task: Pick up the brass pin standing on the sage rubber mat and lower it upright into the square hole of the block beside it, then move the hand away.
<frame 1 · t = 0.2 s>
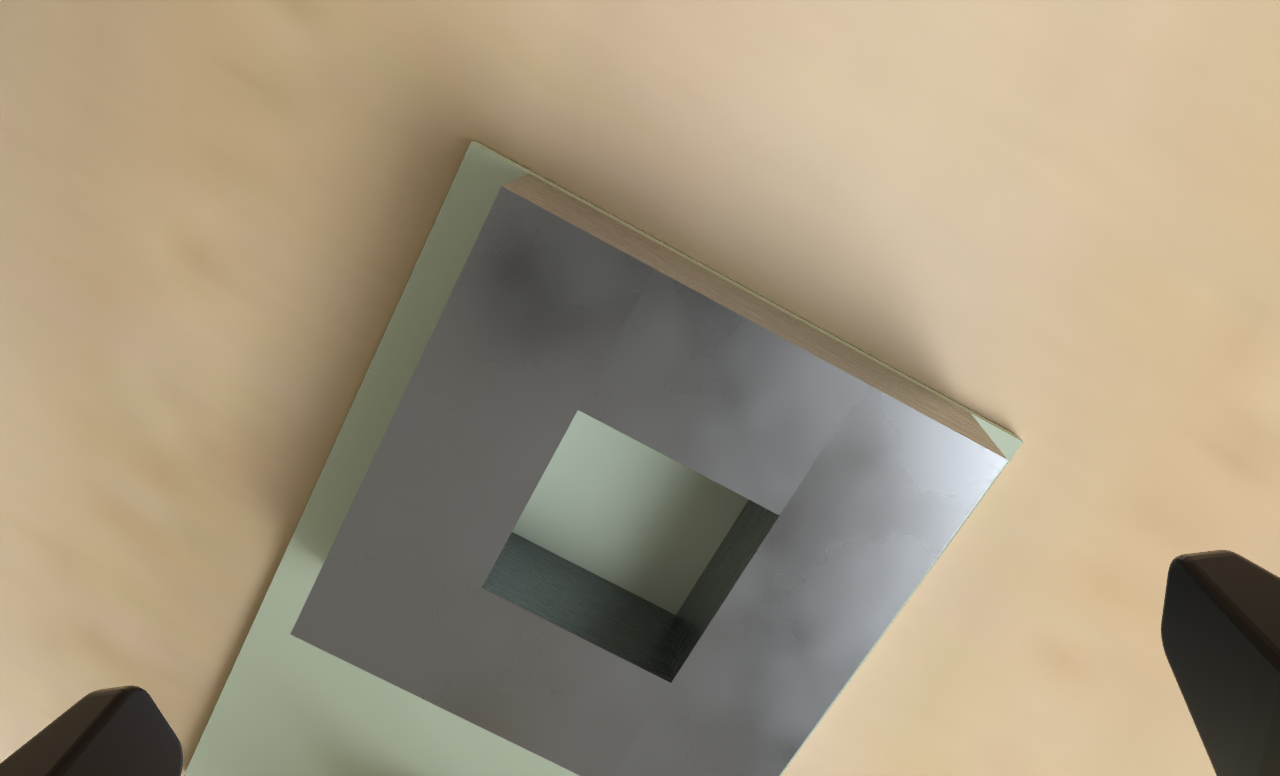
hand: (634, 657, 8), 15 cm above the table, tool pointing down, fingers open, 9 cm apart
mat: (561, 621, 26), on the table
block: (636, 497, 24), resting on mat
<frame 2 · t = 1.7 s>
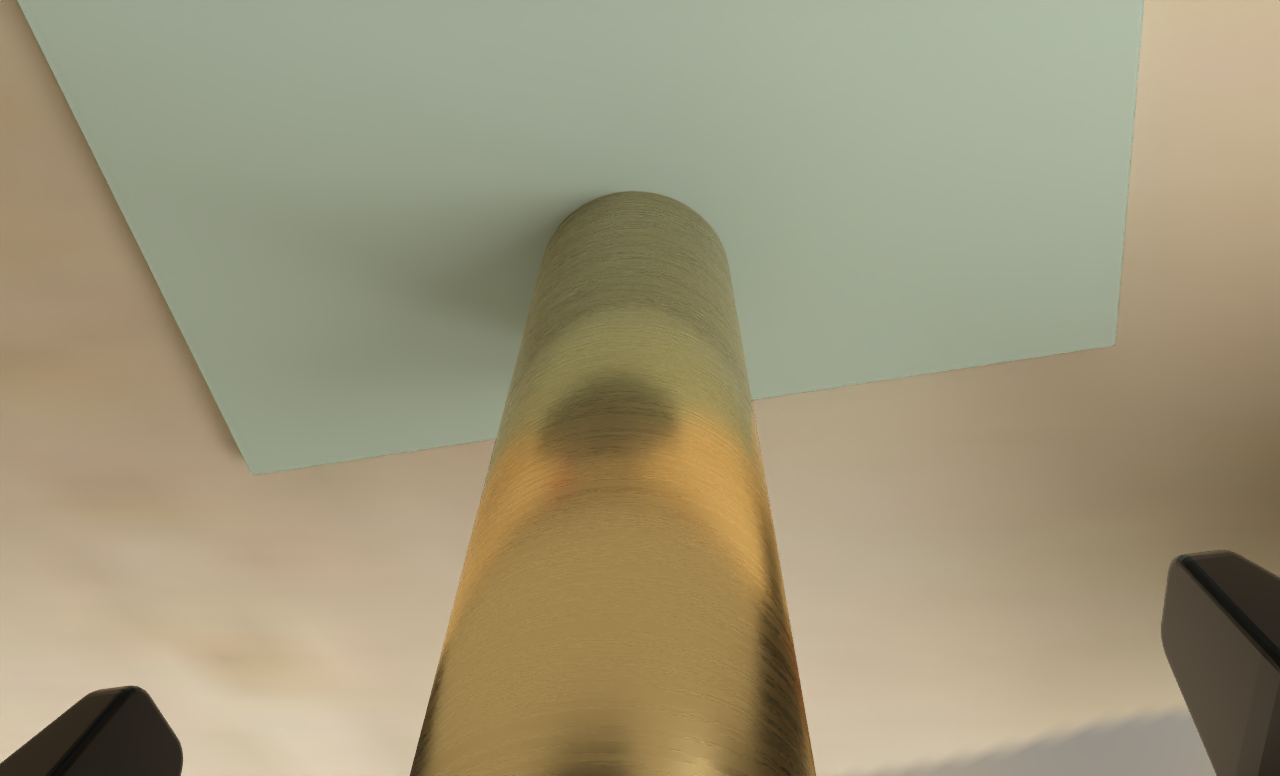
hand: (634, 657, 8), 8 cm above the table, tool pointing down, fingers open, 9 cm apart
pin: (635, 282, 15), resting on mat
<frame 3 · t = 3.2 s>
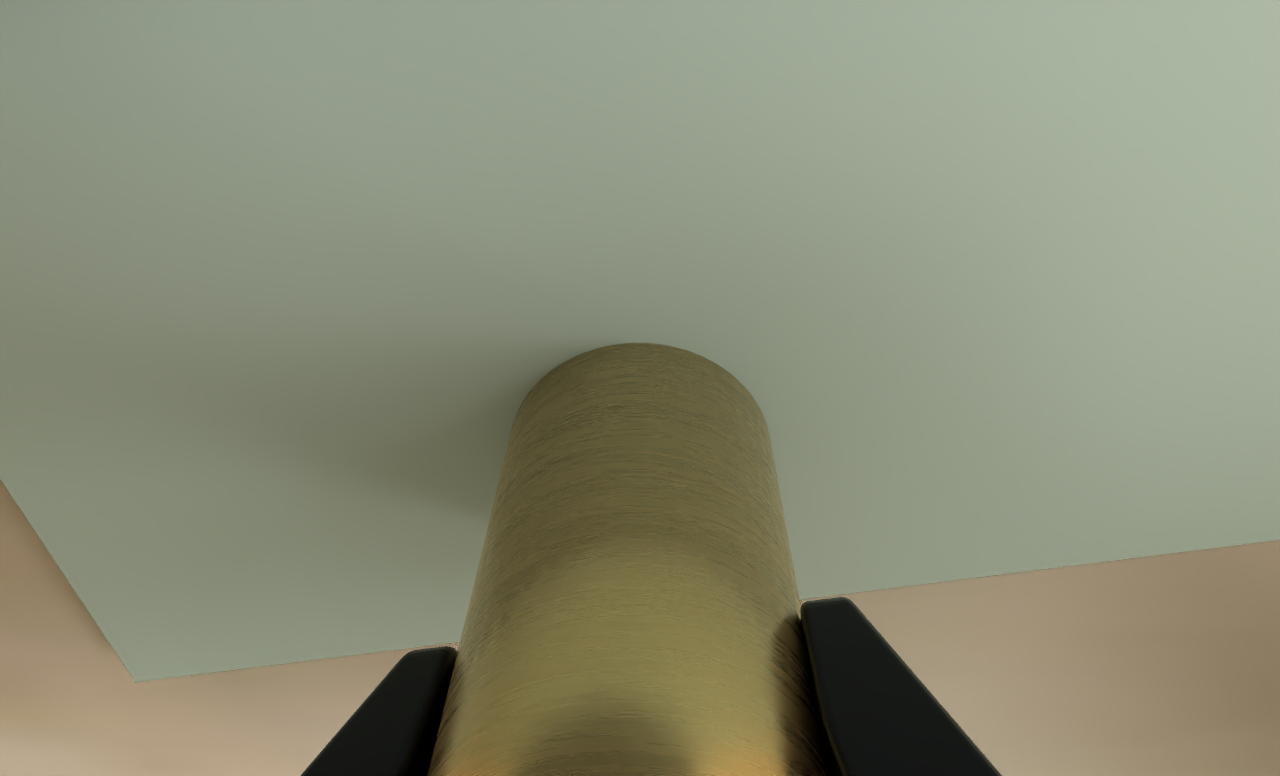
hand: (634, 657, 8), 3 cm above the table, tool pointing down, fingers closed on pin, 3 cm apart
pin: (639, 457, 11), resting on mat, touching gripper
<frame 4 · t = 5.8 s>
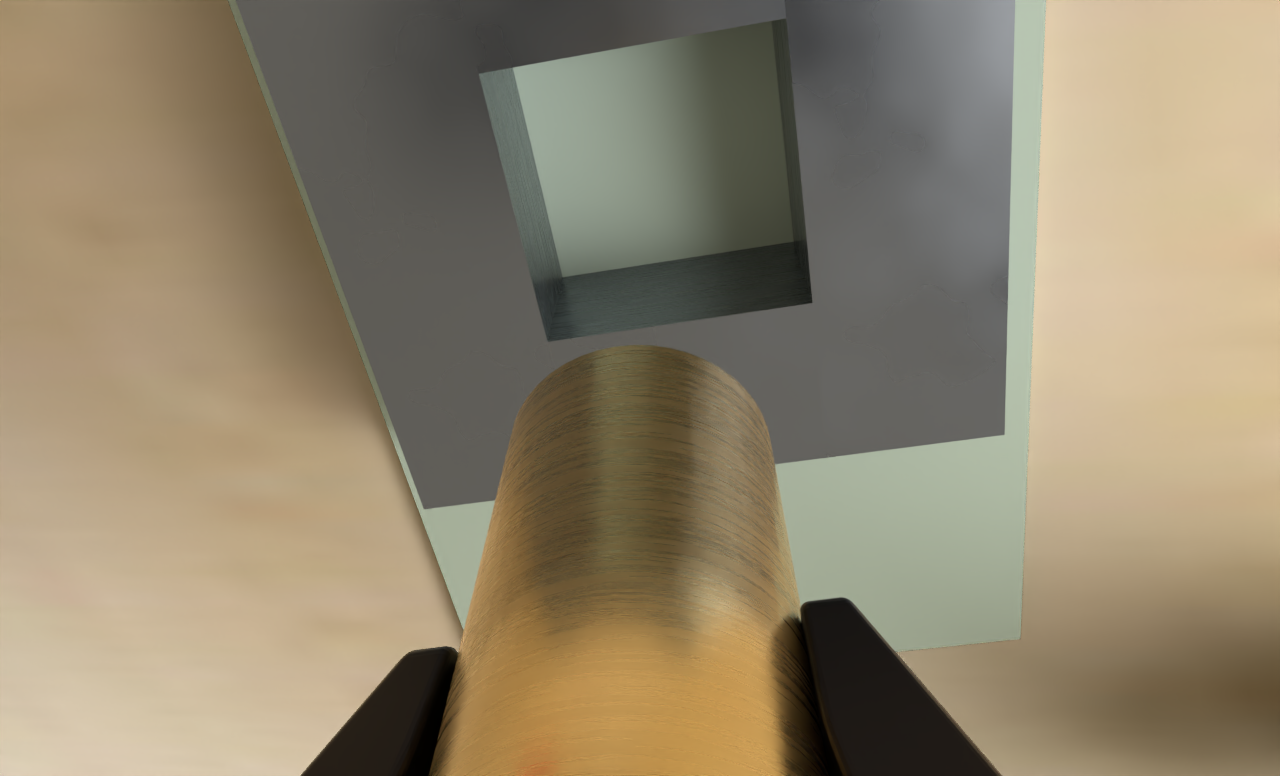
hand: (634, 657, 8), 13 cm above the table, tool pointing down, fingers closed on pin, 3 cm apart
mat: (689, 333, 21), on the table
block: (657, 145, 19), resting on mat
pin: (640, 459, 11), point 10 cm above the table, touching gripper
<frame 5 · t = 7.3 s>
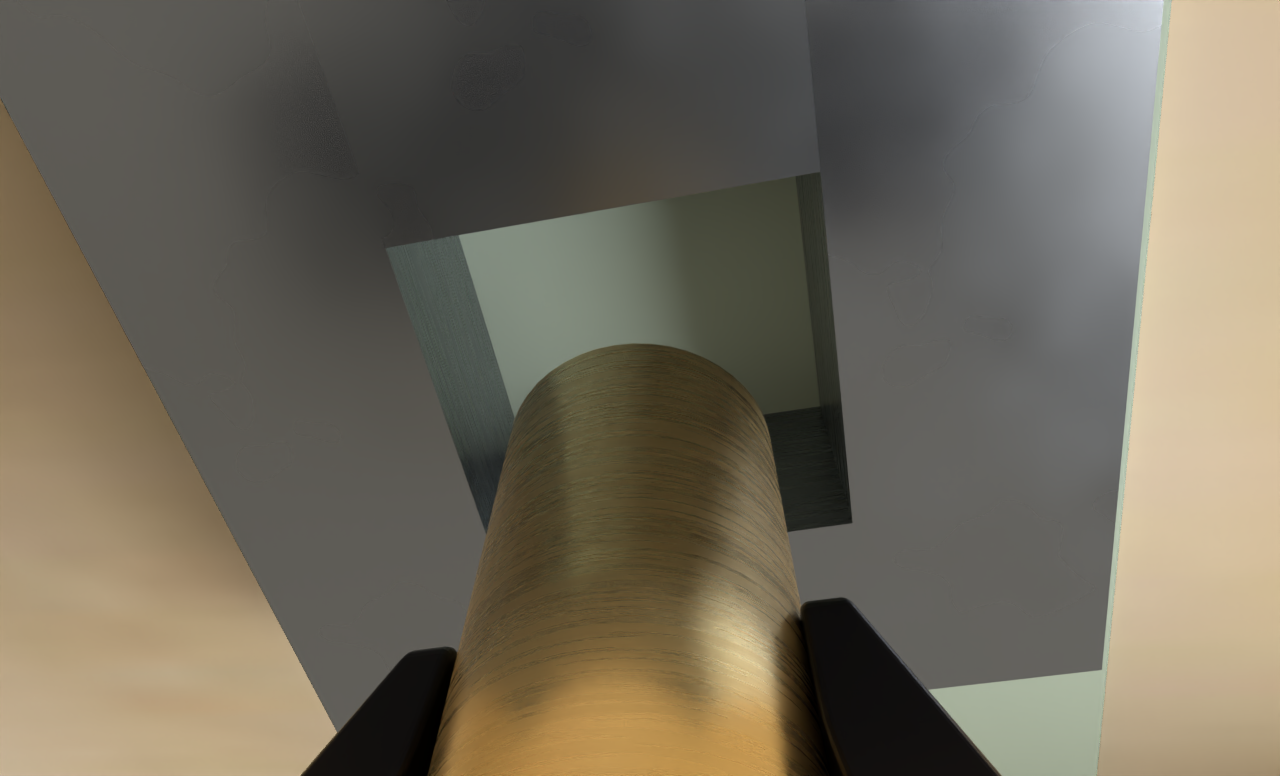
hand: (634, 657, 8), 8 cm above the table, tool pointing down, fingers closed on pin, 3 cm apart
mat: (688, 506, 17), on the table
block: (641, 294, 14), resting on mat
pin: (640, 458, 11), point 5 cm above the table, touching gripper
when the fingers open (4 cm above the table, at t = 8.6 s): pin stays where it is, resting on mat.
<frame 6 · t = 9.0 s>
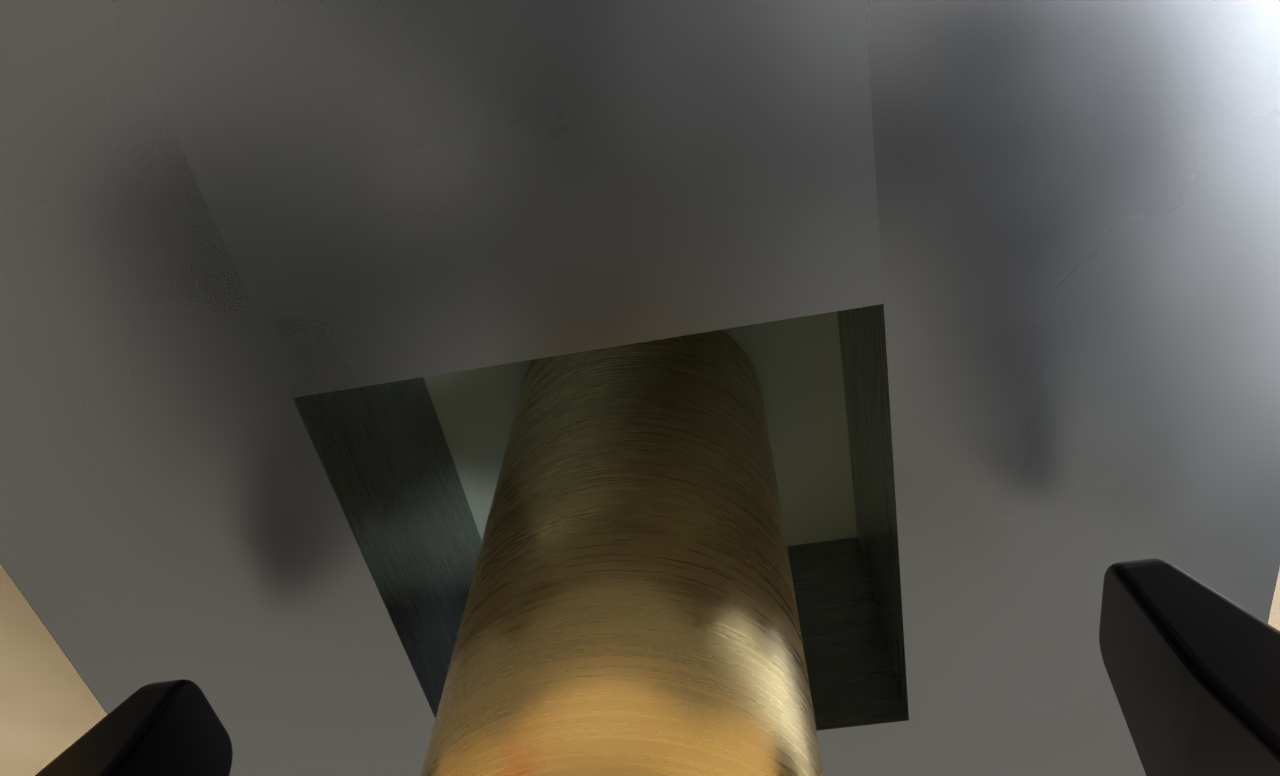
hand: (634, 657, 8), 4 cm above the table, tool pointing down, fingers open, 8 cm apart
mat: (695, 642, 14), on the table
block: (639, 409, 12), resting on mat
pin: (641, 412, 12), resting on mat
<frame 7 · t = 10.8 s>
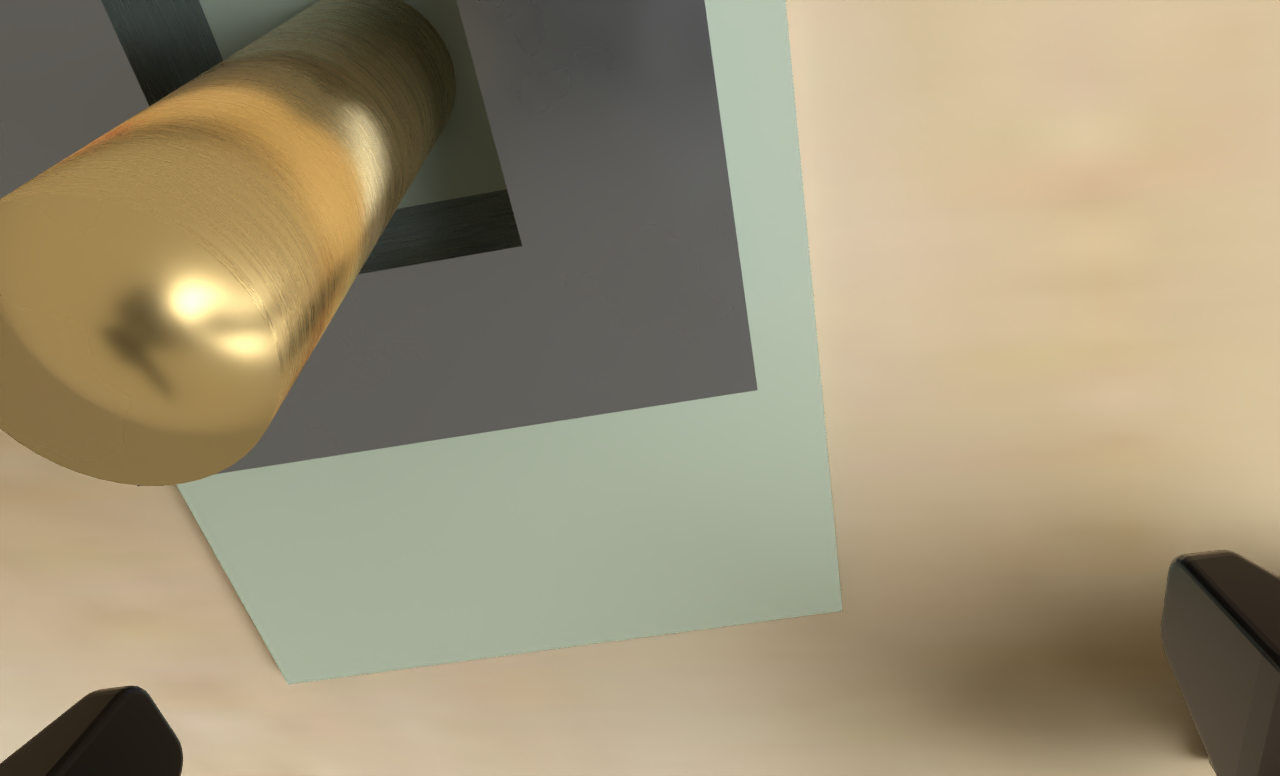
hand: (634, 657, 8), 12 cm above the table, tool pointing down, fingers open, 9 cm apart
mat: (446, 288, 20), on the table
block: (370, 76, 17), resting on mat
pin: (372, 78, 17), resting on mat
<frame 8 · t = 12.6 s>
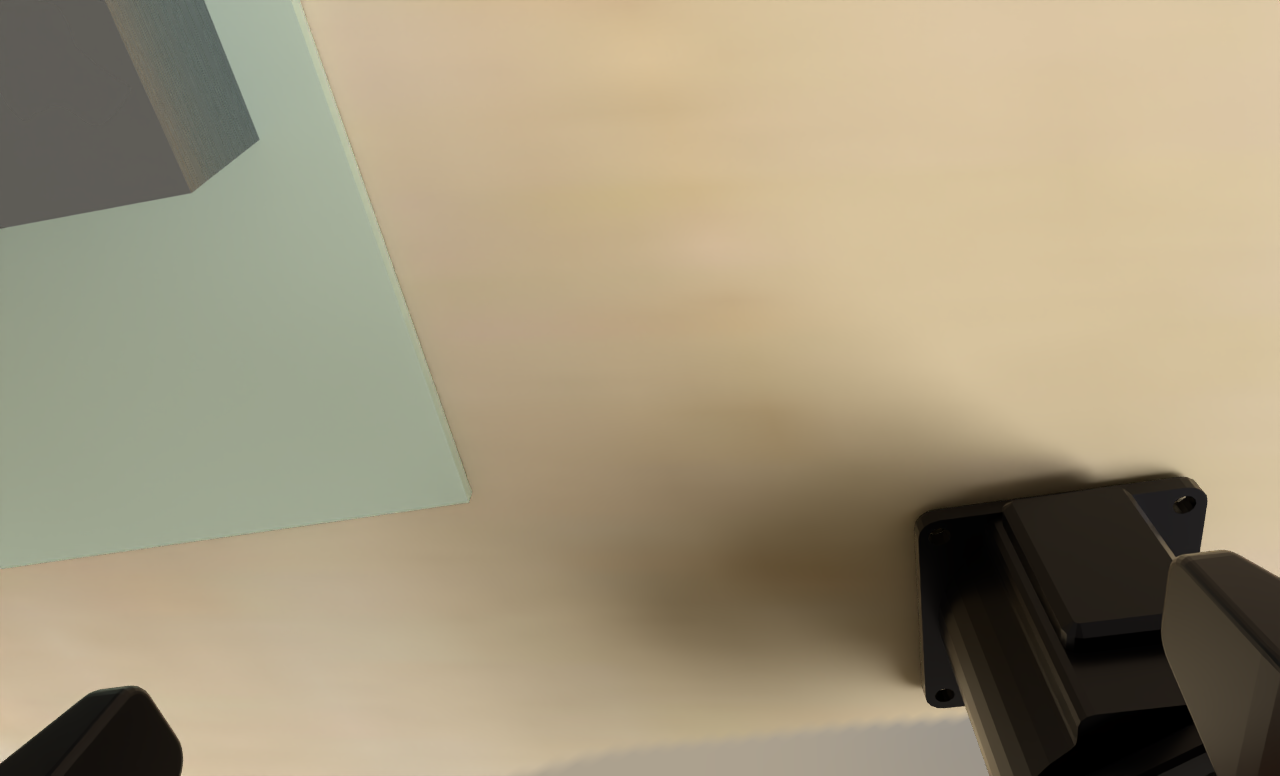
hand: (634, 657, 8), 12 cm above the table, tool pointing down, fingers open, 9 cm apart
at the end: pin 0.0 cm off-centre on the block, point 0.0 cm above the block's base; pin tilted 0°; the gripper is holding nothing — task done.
